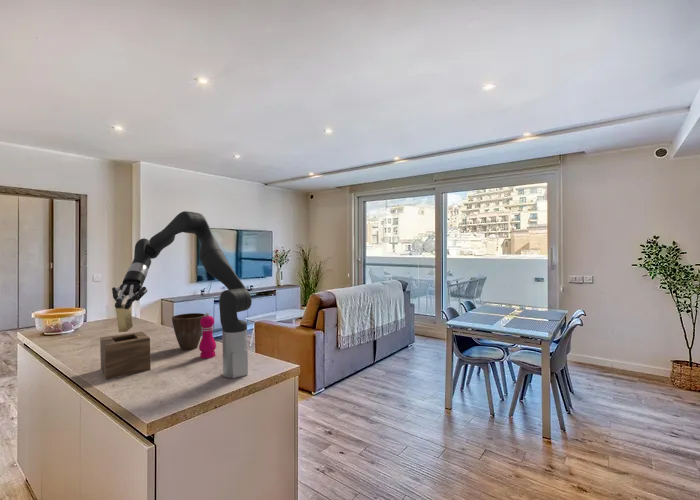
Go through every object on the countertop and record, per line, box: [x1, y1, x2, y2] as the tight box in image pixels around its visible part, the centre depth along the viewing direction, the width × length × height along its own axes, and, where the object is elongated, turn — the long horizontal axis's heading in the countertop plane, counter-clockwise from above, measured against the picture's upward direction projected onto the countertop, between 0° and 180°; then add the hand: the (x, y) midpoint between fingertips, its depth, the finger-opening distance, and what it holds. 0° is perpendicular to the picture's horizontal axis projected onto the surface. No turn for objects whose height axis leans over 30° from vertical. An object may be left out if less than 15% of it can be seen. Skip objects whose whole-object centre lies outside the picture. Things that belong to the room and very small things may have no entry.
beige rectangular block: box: [115, 303, 133, 333], centre depth 142 cm, size 5×3×10 cm, turn 7°
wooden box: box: [99, 331, 152, 380], centre depth 142 cm, size 15×15×13 cm
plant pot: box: [171, 312, 206, 351], centre depth 172 cm, size 15×15×16 cm
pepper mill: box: [198, 312, 217, 359], centre depth 158 cm, size 7×7×20 cm
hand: (121, 308), depth 140 cm, fingers closed on beige rectangular block, 3 cm apart
